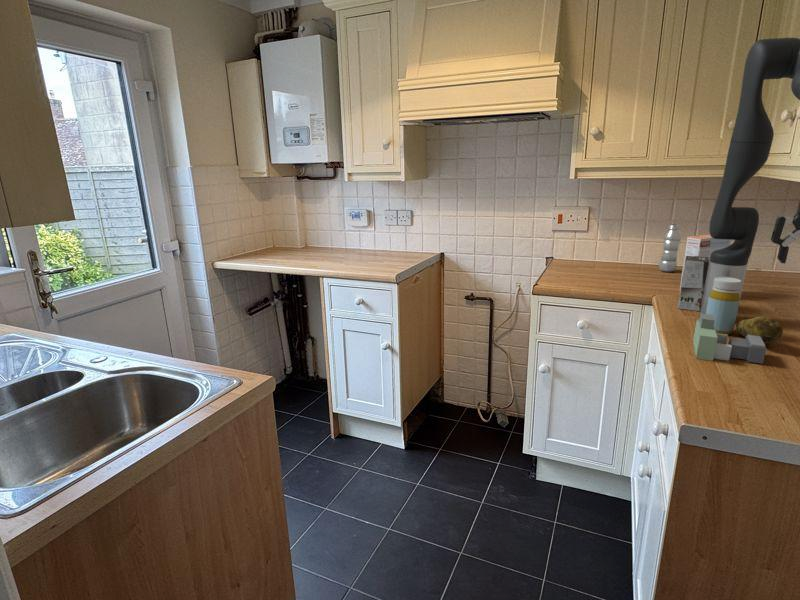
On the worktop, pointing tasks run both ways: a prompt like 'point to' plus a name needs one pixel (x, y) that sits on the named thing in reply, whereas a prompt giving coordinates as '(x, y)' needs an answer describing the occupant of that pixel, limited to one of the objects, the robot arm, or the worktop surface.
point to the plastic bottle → (670, 249)
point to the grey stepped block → (748, 348)
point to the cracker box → (703, 247)
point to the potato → (761, 328)
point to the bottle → (724, 303)
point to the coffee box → (693, 282)
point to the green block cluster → (710, 340)
